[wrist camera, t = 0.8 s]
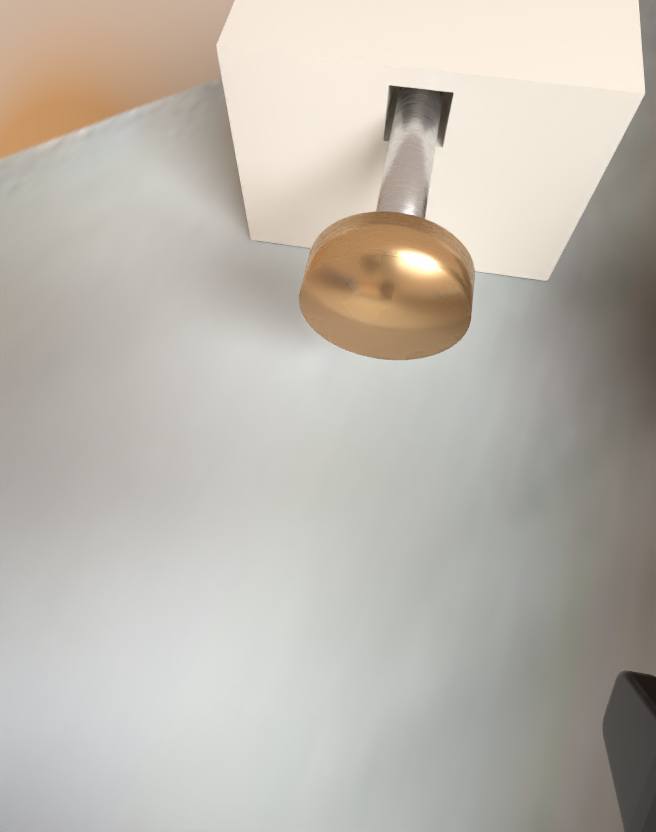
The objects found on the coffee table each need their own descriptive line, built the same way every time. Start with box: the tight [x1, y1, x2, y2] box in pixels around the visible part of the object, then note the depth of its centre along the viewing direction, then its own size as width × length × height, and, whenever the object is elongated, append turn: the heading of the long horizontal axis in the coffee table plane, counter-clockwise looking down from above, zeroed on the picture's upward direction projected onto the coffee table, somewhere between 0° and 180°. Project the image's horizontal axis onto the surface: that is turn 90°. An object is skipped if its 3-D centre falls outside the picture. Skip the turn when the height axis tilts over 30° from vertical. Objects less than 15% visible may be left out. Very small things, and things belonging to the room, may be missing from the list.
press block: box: [216, 0, 645, 281], centre depth 25 cm, size 8×14×9 cm, turn 80°
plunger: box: [299, 87, 475, 360], centre depth 19 cm, size 11×5×5 cm, turn 170°
